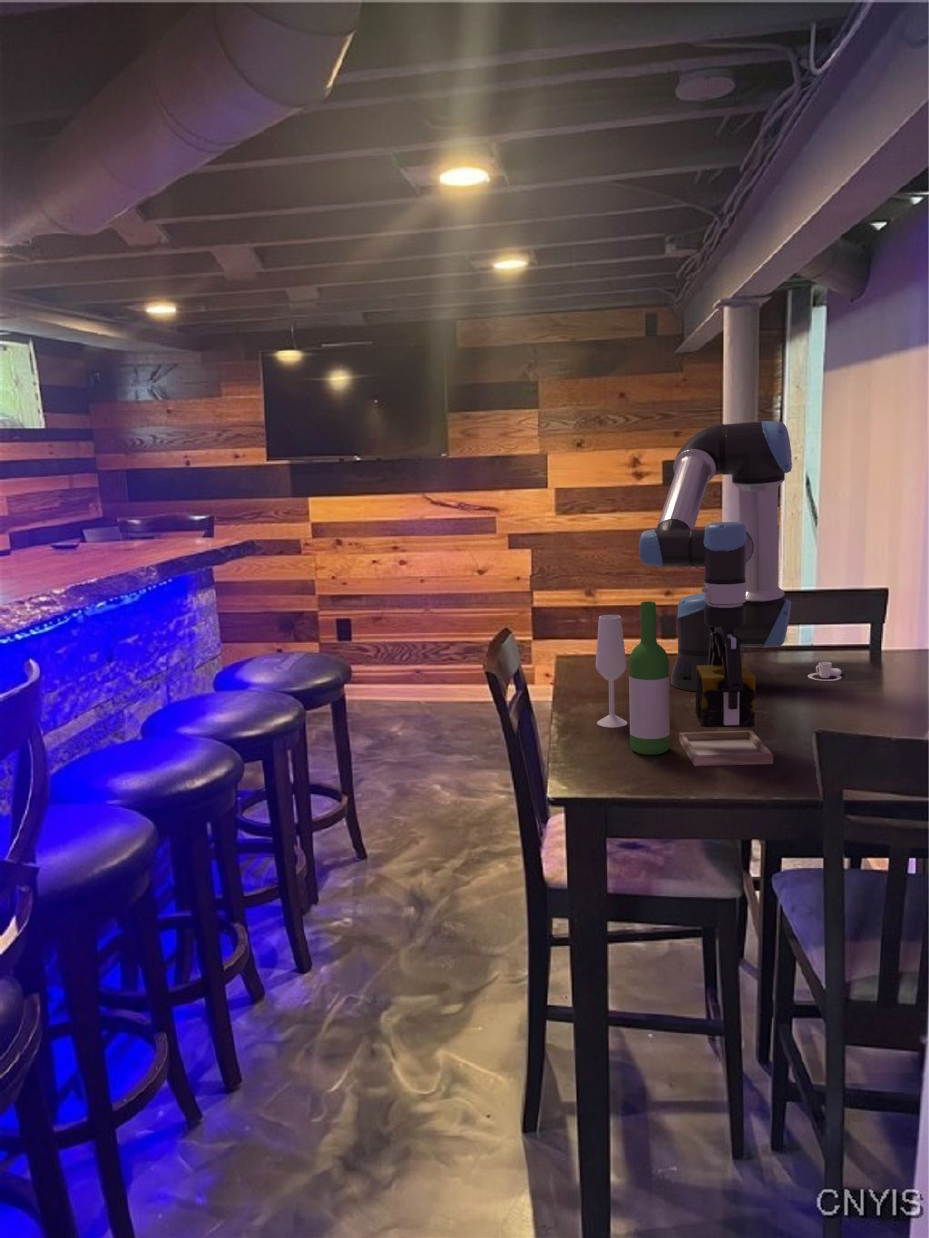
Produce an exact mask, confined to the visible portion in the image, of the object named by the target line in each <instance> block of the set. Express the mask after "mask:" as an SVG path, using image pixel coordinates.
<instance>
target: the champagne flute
mask: <svg viewBox="0 0 929 1238" xmlns="http://www.w3.org/2000/svg"><path fill="white" fill-rule="evenodd" d="M622 622H623V620H622V617H621V615H618V614H605V615H600V616H598V624H597V625H598V626H597V628H598V629H597V640H596V641H597V642H596V653H595V654H596V656H595V669H596V671H597V672H598V674H600V675H601V676H602V677H603V678H604V679H605V680H606V681H608V715H606V716H604V717H603V718H601V719H599V720H598V721H597V722H596V724H597V726H600V727H603V728H621V727H625V726H626V725H627V724H628V721H627V720H625V719H623V718H622V717H619V716H618V715H616V714H615V713H616V712H615V709H616V708H615V681H617V680H618V678H620V677H621V676H622V675H623V674H624V673H625V670H626V669H627V666H628V665H627V657H626V650H625V641H624V632H623V623H622Z"/></svg>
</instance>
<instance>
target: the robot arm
mask: <svg viewBox="0 0 929 1238" xmlns="http://www.w3.org/2000/svg"><path fill="white" fill-rule="evenodd" d="M673 461H674V462H673V466H672V467H673V472H674V475H673V478H672V482H671V484H670V486H669V487H670V488H669V489H668V493H667V496H666V499H665V501H664V505H663V508H662V509H661V510H662V511H661V514H660V517H659V520H658V522H657V526H656V529H654V528H652V529H649V530H647V529H646V530H645V531H643V532H641V534H640V537H639V544H638V551H639V553H638V554H639V558H640V561H641V563H642V564H643V565H645V566H647V567H660V568H665V567H669V568H670V567H671V568H672V567H673V568H674V567H677V568H679V567H697V568H698V567H699V568H701V567H703V568H704V587H701V592H702V593H695V594H691V595H687V596H685V597H682V598H681V599H680V600H679V602H678V603H677V615H676V618H677V656H676V659H675V663H674V666H673V668H672V671H671V675H670V683H671V686H673V687H674V688H676V689H680V690H683V691H690V692H696V691H697V670H696V668H697V665H722V666H723V674H724V681H725V688H723V689H722V692H724V725H739V692H740V691H743V682H742V668H741V665H742V657H741V656H742V655H741V647H756V648H778V647H781V646H782V645H784V643H785V641H786V636H787V633H788V626H789V621H790V616H791V615H790V614H791V607H792V601H791V600H790V599H787V598H786V599H785V591H784V590H783V589H782V588H781V587H780V586H779V583H778V582H779V581H778V580H779V579H778V577H779V576H778V575H779V574H778V573H779V570H778V568H779V567H778V566H779V563H778V562H779V558H778V557H779V555H778V554H779V553H778V551H779V549H778V548H779V547H778V546H779V543H778V542H779V541H778V540H779V539H778V537H779V533H778V532H779V529H778V528H779V527H778V525H779V522H778V521H779V519H778V518H779V516H778V515H779V507H778V506H779V505H778V504H779V503H778V502H779V500H778V499H779V497H778V496H779V495H778V494H779V491H778V490H779V486H781V485H782V484H783V482H785V480H786V479H785V477H786V474H788V473H790V472H791V471H792V468H793V461H792V449H791V440H790V435H789V432H788V429H787V426H786V424H785V423H784V422H783V421H778V420H777V421H771V420H766V421H765V420H761V421H750V422H748V421H747V422H739V423H737V422H736V423H728V424H727V423H726V424H724V423H720V424H713V425H711V426H708V427H706V428H703V429H702V430H700V431H698V432H697V433H696V434H694V435H693V436H692V437H690V438H689V439H688V440H687V441H686V442H685V443H684V444H683V445H682V447H681V448H680V449H679V451H678V452H677V454H676V456H675V459H674V460H673ZM718 475H720V476H721V475H723V476H728V475H731V479H732V481H731V482H732V484H733V485H734V486H735V487H736V488H737V489H738V509H739V511H738V512H739V513H738V514H739V517H738V519H739V521H724V522H723V521H722V522H719V521H718V522H710V523H708V524H707V525H705V528H704V529H695V526H696V523H697V520H698V517H699V512H700V510H701V506H702V503H703V499H704V496H705V492H706V489H707V486H708V483H709V482H711V481H712V480H713V479H714V477H715V476H718ZM732 684H736V685H732Z"/></svg>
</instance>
